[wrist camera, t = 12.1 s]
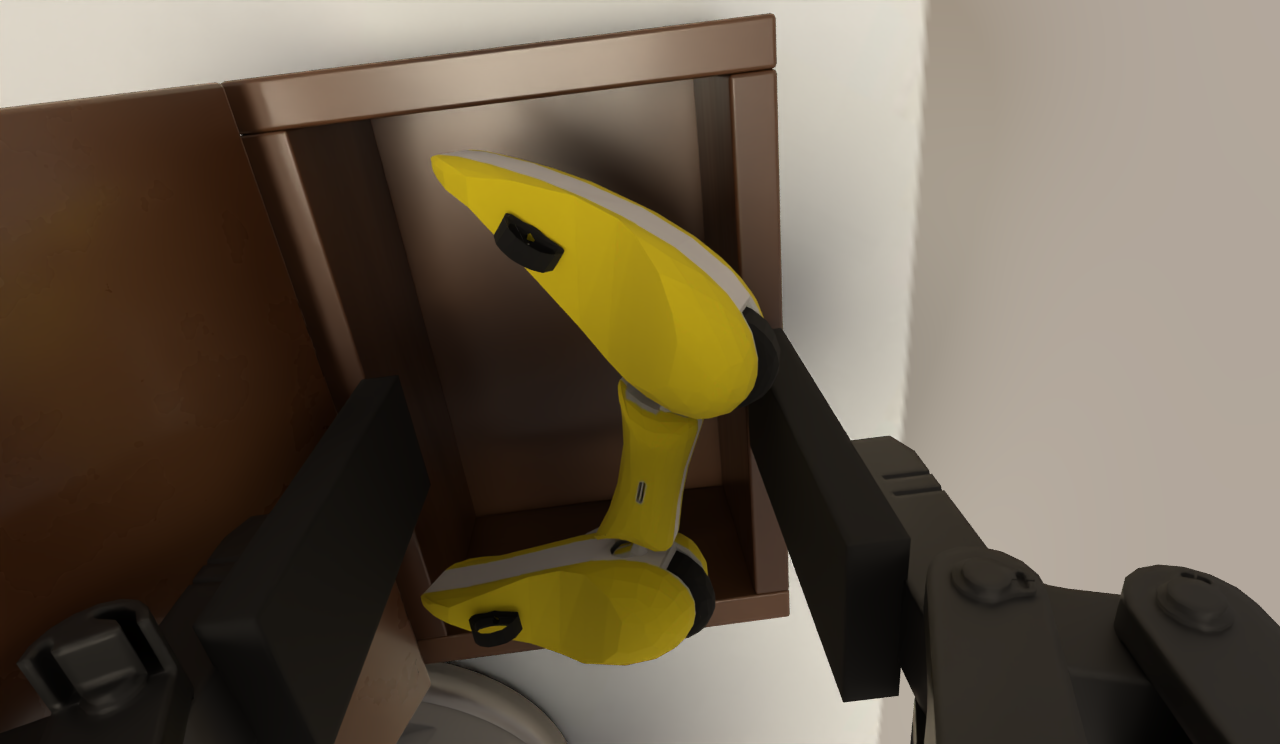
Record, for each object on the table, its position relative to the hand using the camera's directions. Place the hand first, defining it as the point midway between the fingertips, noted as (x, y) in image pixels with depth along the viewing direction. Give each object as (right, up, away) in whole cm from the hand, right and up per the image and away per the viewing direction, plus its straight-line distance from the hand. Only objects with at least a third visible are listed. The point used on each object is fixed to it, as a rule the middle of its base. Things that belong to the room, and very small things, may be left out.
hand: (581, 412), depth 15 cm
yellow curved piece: (0, 0, 0) cm, 0 cm away
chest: (-1, +3, +6) cm, 7 cm away
